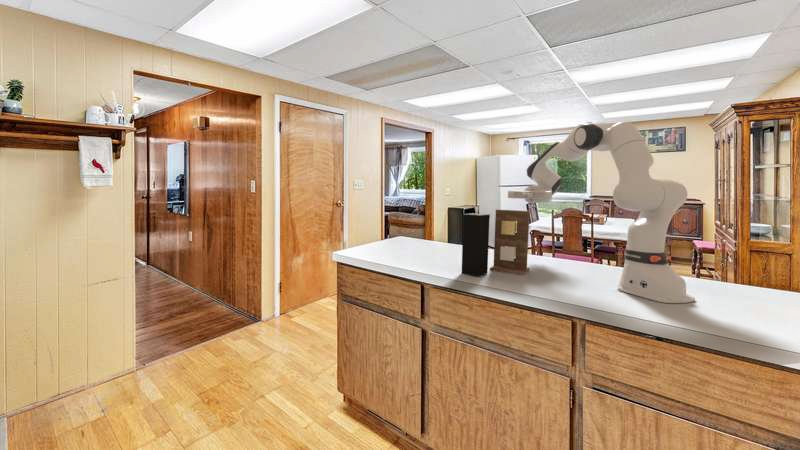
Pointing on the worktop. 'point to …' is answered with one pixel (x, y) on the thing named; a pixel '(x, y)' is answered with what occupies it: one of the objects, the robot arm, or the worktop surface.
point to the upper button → (508, 227)
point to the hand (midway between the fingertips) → (525, 195)
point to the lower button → (507, 253)
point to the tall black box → (475, 243)
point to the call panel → (512, 242)
